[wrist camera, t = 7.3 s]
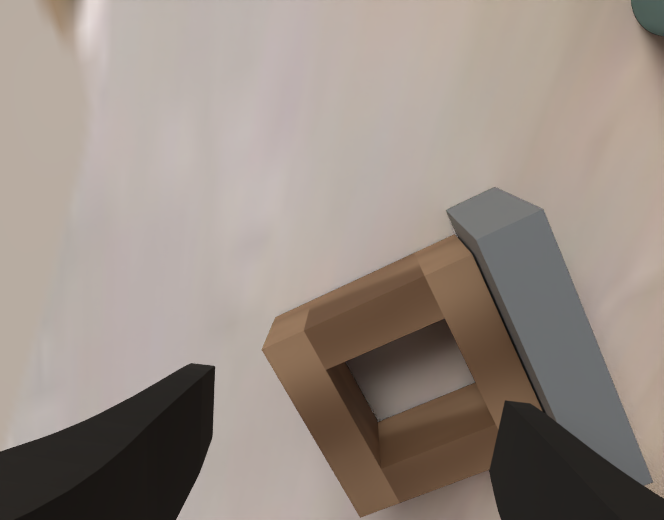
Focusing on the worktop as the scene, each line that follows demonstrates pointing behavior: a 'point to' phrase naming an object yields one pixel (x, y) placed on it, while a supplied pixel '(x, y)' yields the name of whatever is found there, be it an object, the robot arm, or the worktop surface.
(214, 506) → the worktop surface
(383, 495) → the brown square frame
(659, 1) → the dowel
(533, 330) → the board
